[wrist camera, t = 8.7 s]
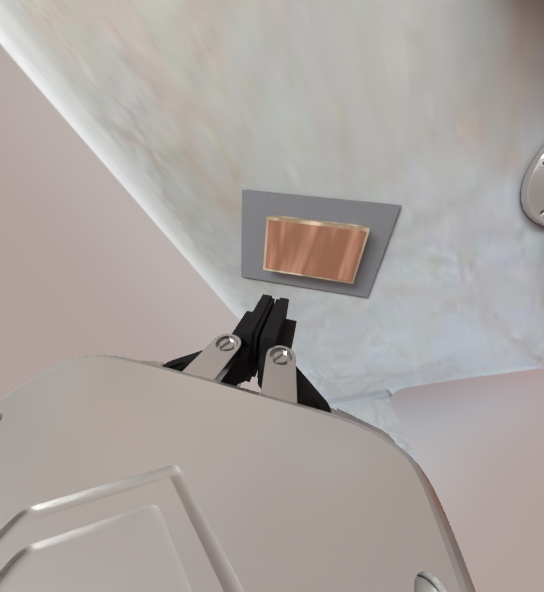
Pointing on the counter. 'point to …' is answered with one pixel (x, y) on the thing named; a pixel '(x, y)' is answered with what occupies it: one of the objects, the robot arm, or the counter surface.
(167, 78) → the counter surface
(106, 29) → the counter surface
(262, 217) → the rubber mat
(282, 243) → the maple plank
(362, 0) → the counter surface
